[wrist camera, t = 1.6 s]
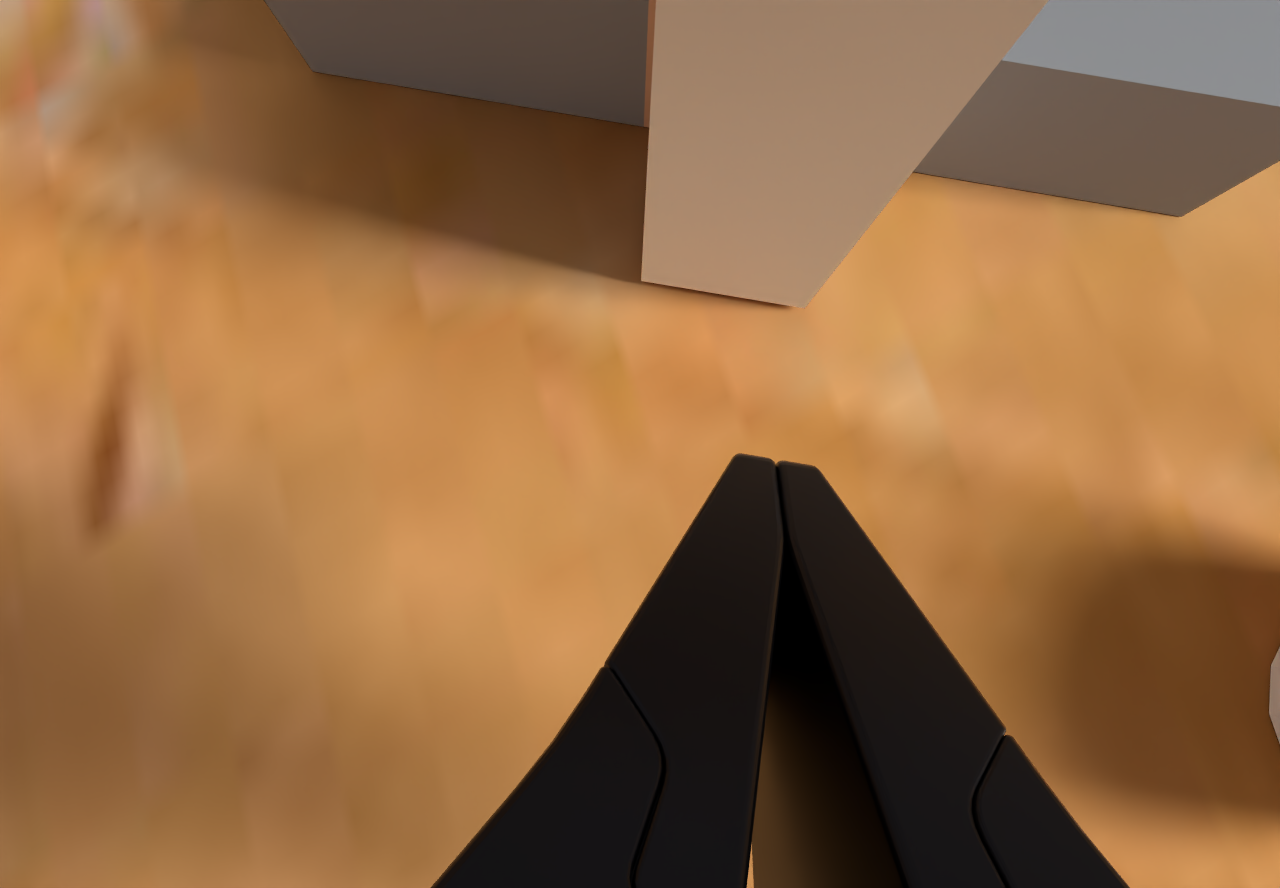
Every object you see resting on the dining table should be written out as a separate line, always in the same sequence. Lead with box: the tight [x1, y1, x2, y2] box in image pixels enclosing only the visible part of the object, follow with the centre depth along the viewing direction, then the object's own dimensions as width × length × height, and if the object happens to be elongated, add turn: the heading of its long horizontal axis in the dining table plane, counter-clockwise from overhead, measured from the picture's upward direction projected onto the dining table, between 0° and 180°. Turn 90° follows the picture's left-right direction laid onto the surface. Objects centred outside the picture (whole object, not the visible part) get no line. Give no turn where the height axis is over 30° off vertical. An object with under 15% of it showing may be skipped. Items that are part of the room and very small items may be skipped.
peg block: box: [641, 0, 1049, 308], centre depth 14 cm, size 5×4×14 cm
